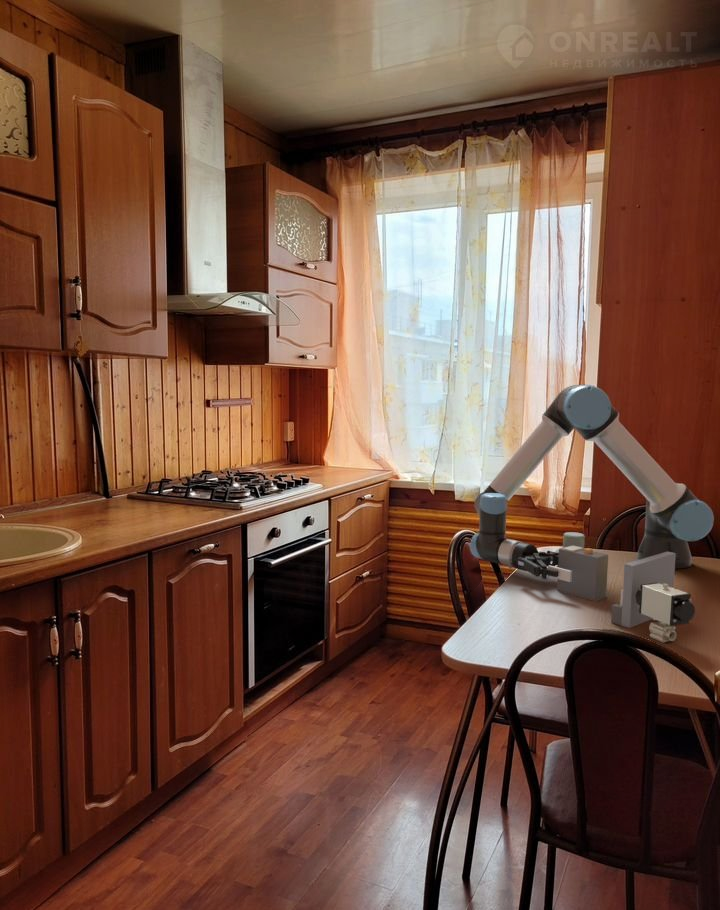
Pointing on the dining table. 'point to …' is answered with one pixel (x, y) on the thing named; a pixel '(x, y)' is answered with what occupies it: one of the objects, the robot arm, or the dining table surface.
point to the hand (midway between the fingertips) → (586, 572)
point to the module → (584, 572)
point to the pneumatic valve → (664, 609)
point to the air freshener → (573, 540)
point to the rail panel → (634, 576)
